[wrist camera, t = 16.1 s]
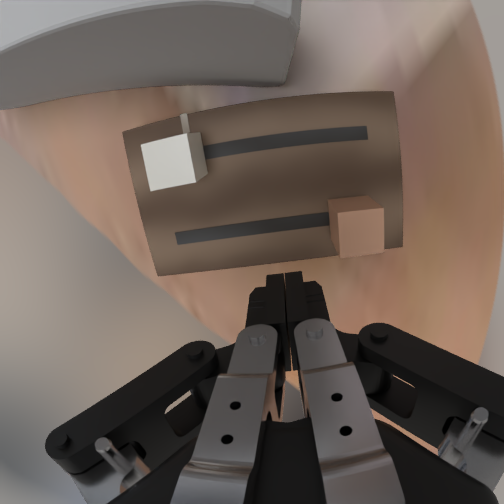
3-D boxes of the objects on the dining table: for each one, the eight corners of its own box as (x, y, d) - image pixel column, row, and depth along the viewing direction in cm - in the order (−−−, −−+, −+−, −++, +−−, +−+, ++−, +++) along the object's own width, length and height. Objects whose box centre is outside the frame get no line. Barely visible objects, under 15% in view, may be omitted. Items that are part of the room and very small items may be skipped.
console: (142, 129, 24) (121, 130, 20) (375, 94, 21) (393, 89, 18) (172, 257, 28) (157, 277, 25) (386, 231, 26) (402, 248, 22)
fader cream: (160, 141, 20) (140, 144, 17) (200, 132, 20) (186, 133, 17) (168, 181, 21) (150, 191, 18) (207, 173, 21) (196, 182, 18)
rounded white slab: (289, 9, 19) (309, -139, 3) (283, 89, 22) (307, 4, 6) (22, 46, 20) (-104, 40, 3) (16, 109, 23) (-117, 133, 6)
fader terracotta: (327, 199, 21) (337, 212, 18) (367, 195, 21) (383, 208, 17) (330, 239, 22) (340, 258, 19) (369, 234, 22) (384, 252, 19)
